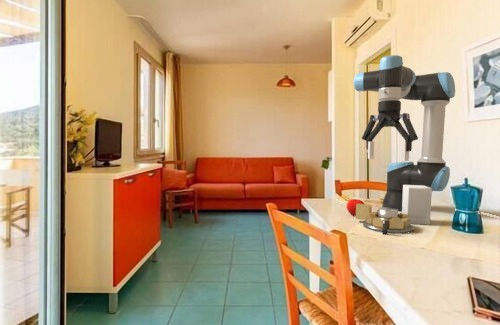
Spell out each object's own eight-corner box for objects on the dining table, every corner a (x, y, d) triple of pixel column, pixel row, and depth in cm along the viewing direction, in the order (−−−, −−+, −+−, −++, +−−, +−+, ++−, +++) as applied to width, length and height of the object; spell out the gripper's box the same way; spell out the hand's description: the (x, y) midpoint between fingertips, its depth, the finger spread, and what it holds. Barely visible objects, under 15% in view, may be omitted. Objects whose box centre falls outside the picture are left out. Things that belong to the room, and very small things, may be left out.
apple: (357, 212, 152) (358, 197, 152) (368, 216, 145) (369, 200, 144) (342, 213, 150) (343, 197, 149) (353, 217, 142) (354, 200, 142)
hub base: (374, 219, 141) (374, 202, 140) (419, 227, 128) (420, 209, 128) (352, 227, 126) (352, 209, 125) (400, 238, 113) (401, 218, 113)
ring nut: (414, 223, 128) (415, 208, 128) (400, 231, 117) (401, 214, 117) (365, 215, 142) (365, 201, 141) (348, 221, 131) (349, 206, 131)
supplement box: (430, 225, 131) (432, 188, 130) (406, 223, 133) (408, 187, 132) (423, 219, 140) (425, 185, 139) (401, 218, 142) (402, 184, 141)
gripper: (353, 102, 125) (352, 158, 127) (419, 96, 106) (416, 162, 107) (365, 104, 130) (363, 157, 132) (430, 98, 110) (427, 161, 112)
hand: (387, 159), depth 119 cm, fingers open, 13 cm apart
